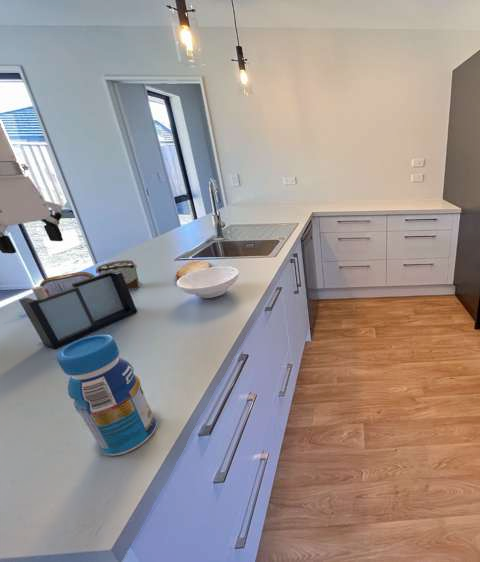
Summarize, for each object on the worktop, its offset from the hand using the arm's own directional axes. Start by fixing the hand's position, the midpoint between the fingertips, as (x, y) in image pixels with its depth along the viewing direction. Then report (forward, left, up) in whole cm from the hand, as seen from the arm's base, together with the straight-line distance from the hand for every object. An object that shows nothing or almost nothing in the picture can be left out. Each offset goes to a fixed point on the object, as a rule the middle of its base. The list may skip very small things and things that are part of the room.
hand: (34, 246), depth 72 cm
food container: (+27, +26, -27) cm, 47 cm away
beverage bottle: (-15, -46, -27) cm, 55 cm away
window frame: (+5, +4, -27) cm, 28 cm away
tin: (+15, +36, -27) cm, 48 cm away
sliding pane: (+1, +3, -25) cm, 25 cm away
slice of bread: (+46, +14, -27) cm, 56 cm away
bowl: (+34, -11, -27) cm, 45 cm away
